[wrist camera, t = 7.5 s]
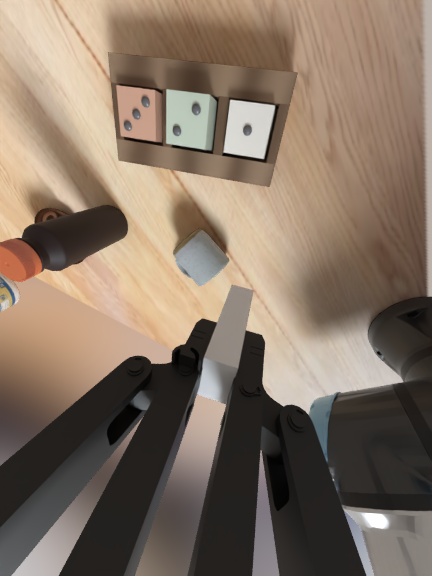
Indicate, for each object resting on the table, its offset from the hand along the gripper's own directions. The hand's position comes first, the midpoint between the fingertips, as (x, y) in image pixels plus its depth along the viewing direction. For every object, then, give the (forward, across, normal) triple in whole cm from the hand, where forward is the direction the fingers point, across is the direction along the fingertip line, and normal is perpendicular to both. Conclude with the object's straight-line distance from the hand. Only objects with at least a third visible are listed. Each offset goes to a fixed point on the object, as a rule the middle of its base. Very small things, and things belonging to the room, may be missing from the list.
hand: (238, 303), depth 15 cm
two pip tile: (+20, +11, -11) cm, 26 cm away
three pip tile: (+21, +18, -11) cm, 30 cm away
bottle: (+24, +28, +6) cm, 38 cm away
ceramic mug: (+25, +9, +8) cm, 28 cm away
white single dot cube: (+22, +4, -11) cm, 25 cm away
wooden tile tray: (+24, +11, -11) cm, 29 cm away
